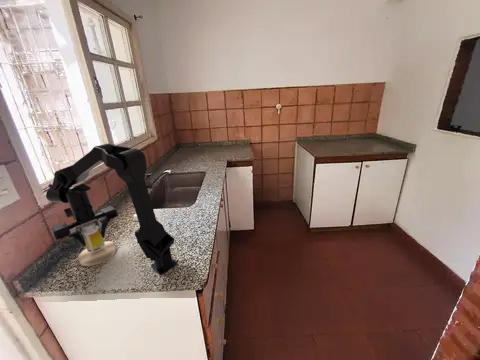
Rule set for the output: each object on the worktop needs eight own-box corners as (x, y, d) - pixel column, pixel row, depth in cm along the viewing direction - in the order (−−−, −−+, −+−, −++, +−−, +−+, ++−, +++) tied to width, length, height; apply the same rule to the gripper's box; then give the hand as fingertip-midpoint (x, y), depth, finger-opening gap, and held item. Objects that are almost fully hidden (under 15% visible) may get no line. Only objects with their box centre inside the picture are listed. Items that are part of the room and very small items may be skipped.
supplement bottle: (108, 242, 82) (100, 219, 79) (100, 252, 77) (91, 227, 73) (92, 244, 82) (84, 221, 78) (84, 254, 77) (74, 229, 73)
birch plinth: (121, 252, 81) (120, 249, 80) (84, 271, 73) (83, 268, 72) (110, 240, 88) (109, 237, 88) (75, 256, 80) (74, 253, 80)
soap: (156, 217, 104) (155, 212, 103) (148, 223, 100) (146, 218, 99) (142, 215, 108) (140, 210, 107) (133, 220, 103) (132, 215, 102)
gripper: (102, 188, 84) (113, 223, 90) (41, 207, 72) (58, 245, 77) (113, 195, 77) (124, 232, 83) (46, 217, 64) (64, 259, 70)
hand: (94, 241), depth 78 cm, fingers closed on supplement bottle, 5 cm apart
